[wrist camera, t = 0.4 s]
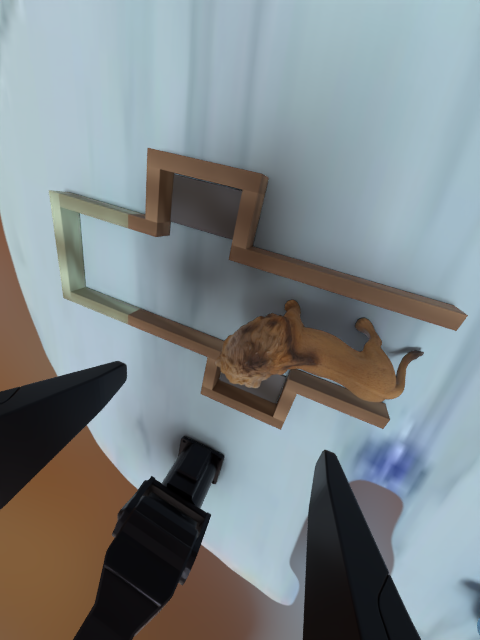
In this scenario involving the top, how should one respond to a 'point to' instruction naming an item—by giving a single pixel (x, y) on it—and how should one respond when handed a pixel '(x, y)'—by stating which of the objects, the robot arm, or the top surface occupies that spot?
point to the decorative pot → (478, 626)
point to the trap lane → (239, 225)
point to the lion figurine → (311, 356)
